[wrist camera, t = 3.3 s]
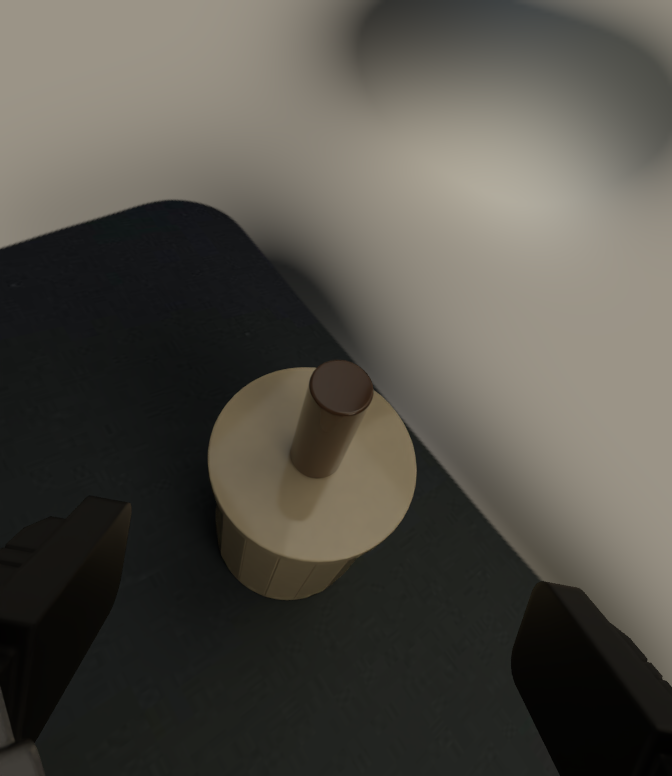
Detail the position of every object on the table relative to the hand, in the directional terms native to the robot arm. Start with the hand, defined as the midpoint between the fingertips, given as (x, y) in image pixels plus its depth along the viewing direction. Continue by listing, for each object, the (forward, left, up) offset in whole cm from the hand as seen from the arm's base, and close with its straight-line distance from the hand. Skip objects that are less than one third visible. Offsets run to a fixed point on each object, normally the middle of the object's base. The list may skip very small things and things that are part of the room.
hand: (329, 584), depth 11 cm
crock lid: (+2, -6, -8) cm, 11 cm away
